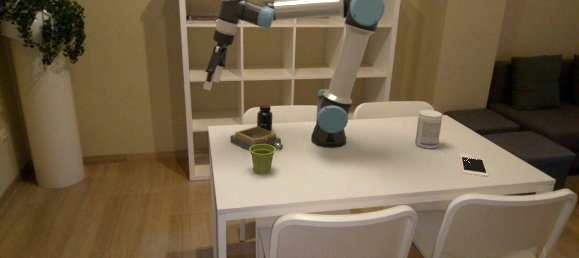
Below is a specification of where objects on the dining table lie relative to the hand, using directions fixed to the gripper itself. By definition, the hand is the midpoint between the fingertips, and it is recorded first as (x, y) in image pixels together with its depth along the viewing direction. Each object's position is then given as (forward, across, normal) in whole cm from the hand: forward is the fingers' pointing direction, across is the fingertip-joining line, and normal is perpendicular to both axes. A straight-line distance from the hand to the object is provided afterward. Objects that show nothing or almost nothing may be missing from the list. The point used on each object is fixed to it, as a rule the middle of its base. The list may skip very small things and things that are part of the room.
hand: (211, 85), depth 168 cm
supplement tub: (+2, -19, +93) cm, 95 cm away
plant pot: (+20, +18, +29) cm, 39 cm away
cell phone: (-1, 0, +107) cm, 107 cm away
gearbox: (+20, -6, +24) cm, 32 cm away
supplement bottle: (+20, -23, +24) cm, 39 cm away
